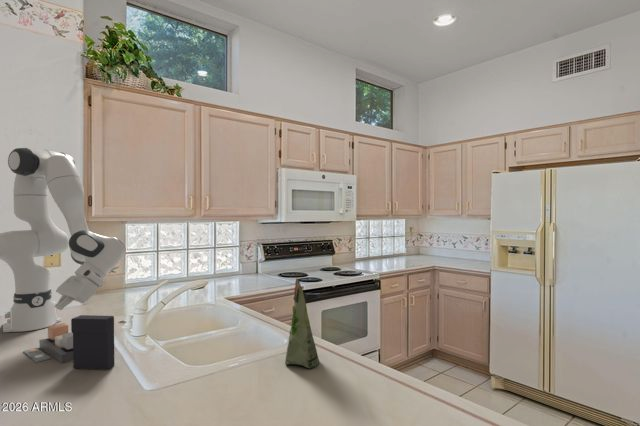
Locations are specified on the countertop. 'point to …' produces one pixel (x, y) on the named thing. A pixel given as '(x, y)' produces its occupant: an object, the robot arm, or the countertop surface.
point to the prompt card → (36, 355)
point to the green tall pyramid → (301, 334)
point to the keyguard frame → (56, 350)
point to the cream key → (58, 341)
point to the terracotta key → (57, 330)
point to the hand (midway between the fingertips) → (57, 308)
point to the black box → (93, 342)
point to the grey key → (67, 340)
